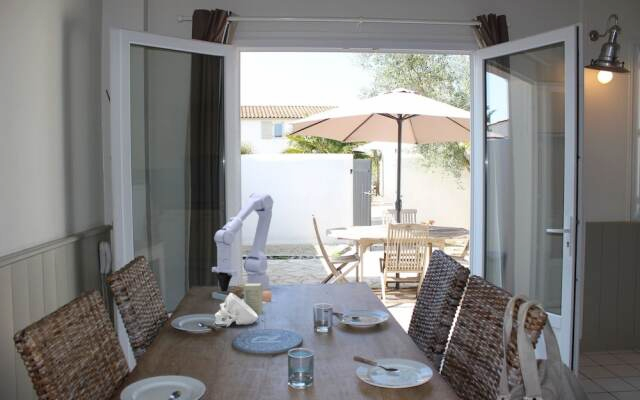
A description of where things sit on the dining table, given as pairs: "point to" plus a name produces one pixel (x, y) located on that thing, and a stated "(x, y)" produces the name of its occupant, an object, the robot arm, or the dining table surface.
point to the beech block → (240, 287)
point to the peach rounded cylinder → (266, 296)
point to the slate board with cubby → (223, 295)
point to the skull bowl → (235, 312)
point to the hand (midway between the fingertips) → (224, 290)
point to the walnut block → (236, 292)
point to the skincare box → (254, 297)
